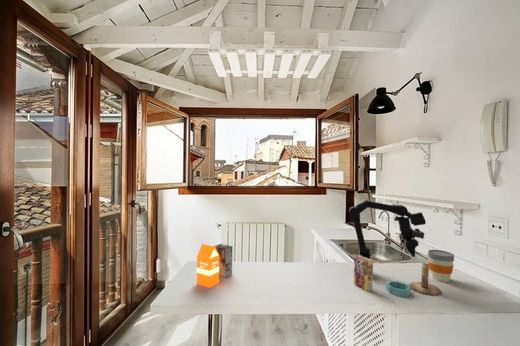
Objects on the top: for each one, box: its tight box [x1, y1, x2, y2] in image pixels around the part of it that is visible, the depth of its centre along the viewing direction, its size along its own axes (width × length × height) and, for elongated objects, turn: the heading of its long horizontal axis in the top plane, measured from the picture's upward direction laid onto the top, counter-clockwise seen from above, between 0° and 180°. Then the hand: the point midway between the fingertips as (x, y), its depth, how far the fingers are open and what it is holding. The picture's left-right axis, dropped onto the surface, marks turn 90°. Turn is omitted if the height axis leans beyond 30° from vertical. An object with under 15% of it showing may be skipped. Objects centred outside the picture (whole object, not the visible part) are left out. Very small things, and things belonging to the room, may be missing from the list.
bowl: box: [386, 280, 412, 298], centre depth 136 cm, size 10×10×4 cm
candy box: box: [353, 254, 374, 291], centre depth 141 cm, size 9×4×15 cm, turn 26°
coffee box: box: [213, 243, 233, 278], centre depth 154 cm, size 9×6×16 cm
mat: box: [407, 283, 443, 297], centre depth 139 cm, size 15×15×1 cm
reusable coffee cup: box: [427, 249, 455, 283], centre depth 153 cm, size 12×12×15 cm
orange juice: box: [196, 243, 220, 288], centre depth 142 cm, size 8×9×20 cm
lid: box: [409, 262, 441, 296], centre depth 139 cm, size 13×13×13 cm
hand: (411, 254), depth 153 cm, fingers open, 9 cm apart
